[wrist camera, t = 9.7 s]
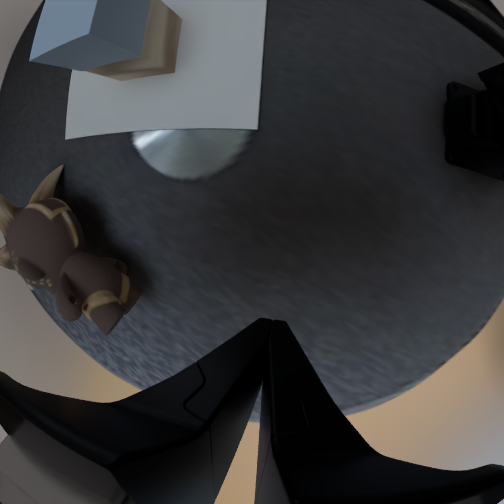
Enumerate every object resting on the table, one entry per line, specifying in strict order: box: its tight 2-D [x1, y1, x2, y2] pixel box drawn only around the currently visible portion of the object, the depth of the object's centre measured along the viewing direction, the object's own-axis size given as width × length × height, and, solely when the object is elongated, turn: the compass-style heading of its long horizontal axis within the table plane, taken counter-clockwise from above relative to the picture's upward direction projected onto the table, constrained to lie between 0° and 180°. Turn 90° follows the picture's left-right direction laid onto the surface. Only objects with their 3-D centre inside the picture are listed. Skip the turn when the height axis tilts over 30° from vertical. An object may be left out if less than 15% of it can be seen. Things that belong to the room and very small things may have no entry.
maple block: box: [86, 0, 182, 81], centre depth 15 cm, size 5×5×5 cm
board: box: [66, 0, 267, 139], centre depth 18 cm, size 18×14×1 cm
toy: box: [0, 164, 142, 335], centre depth 20 cm, size 11×8×15 cm
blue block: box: [29, 0, 151, 72], centre depth 10 cm, size 5×5×5 cm
